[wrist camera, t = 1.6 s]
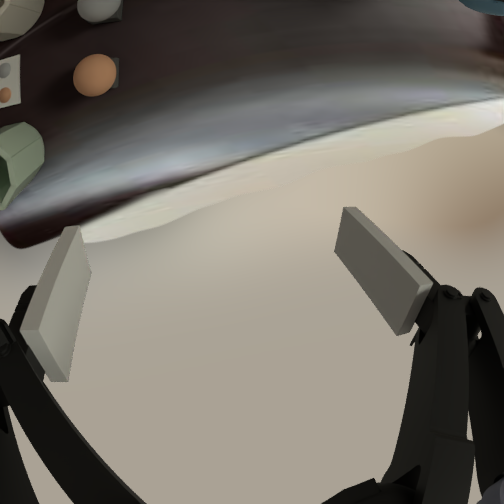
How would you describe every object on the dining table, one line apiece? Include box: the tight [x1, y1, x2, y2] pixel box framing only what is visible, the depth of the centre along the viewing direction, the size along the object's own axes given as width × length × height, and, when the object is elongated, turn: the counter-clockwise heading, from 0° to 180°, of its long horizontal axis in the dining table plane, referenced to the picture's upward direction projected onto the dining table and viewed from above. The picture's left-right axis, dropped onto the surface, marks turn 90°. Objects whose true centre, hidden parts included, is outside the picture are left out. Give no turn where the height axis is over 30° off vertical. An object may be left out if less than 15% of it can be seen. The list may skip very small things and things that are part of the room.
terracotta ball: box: [73, 54, 116, 97], centre depth 27 cm, size 5×5×5 cm
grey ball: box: [77, 0, 121, 22], centre depth 22 cm, size 5×5×5 cm
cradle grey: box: [87, 0, 123, 24], centre depth 25 cm, size 4×4×3 cm
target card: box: [0, 55, 21, 108], centre depth 27 cm, size 7×5×1 cm
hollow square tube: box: [110, 58, 119, 88], centre depth 30 cm, size 4×4×3 cm
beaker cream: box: [0, 0, 45, 41], centre depth 18 cm, size 9×9×10 cm
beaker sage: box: [0, 122, 45, 210], centre depth 29 cm, size 9×9×10 cm
